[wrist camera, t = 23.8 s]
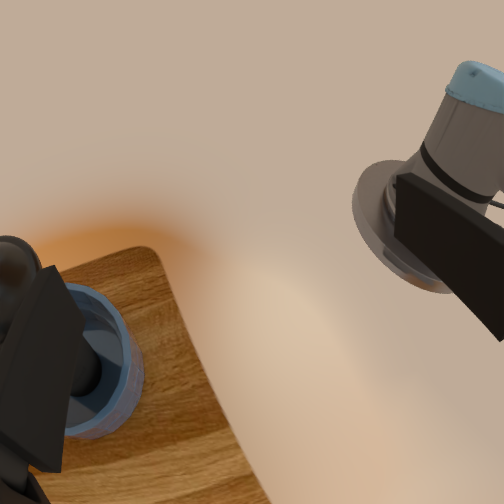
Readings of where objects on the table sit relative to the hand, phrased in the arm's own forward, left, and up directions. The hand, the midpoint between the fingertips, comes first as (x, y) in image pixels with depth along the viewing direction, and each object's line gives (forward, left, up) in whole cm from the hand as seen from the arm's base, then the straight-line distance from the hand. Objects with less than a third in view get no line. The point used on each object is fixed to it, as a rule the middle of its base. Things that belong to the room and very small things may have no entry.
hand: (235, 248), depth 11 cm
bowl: (+12, -5, -17) cm, 22 cm away
